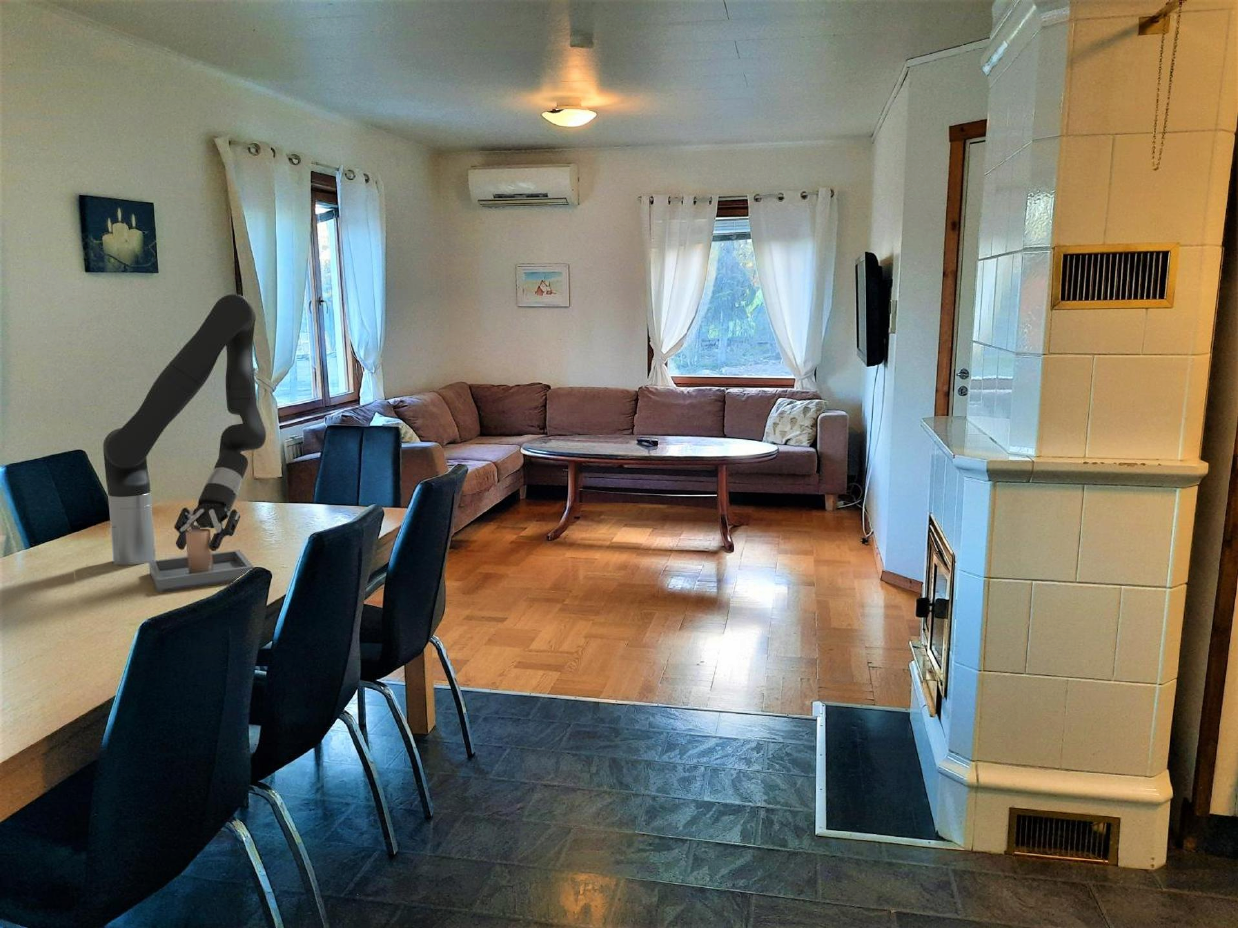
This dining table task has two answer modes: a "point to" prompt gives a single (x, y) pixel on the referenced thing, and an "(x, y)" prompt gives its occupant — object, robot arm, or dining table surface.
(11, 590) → the dining table surface
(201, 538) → the terracotta canister
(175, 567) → the charcoal tray
